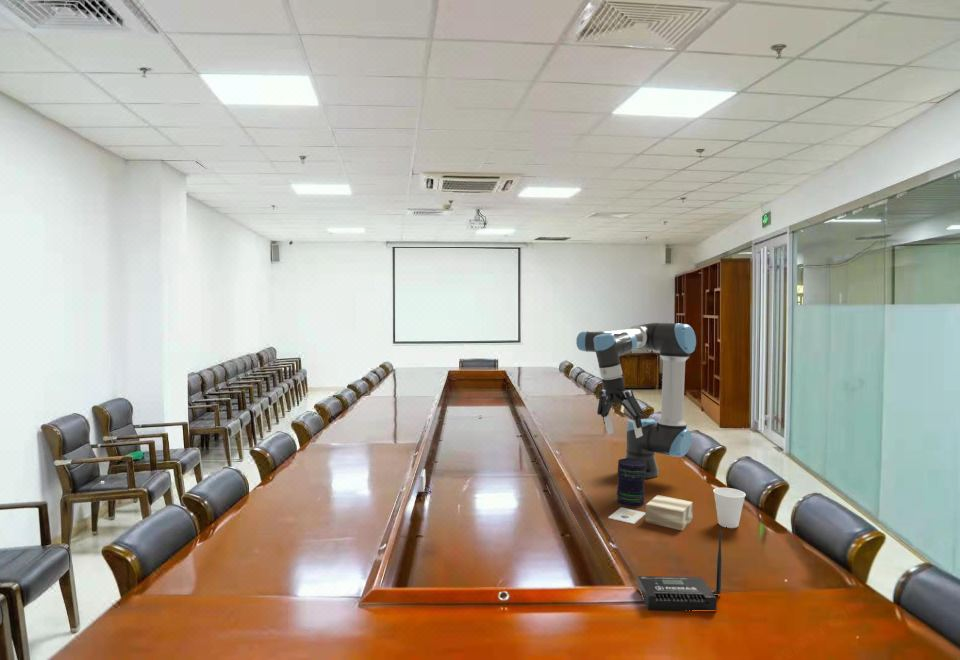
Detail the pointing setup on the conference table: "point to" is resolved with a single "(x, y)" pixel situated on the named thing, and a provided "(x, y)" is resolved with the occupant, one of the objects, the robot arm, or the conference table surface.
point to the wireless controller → (680, 591)
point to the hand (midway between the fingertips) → (624, 435)
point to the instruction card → (627, 515)
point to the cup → (729, 506)
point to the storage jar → (631, 482)
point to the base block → (669, 512)
